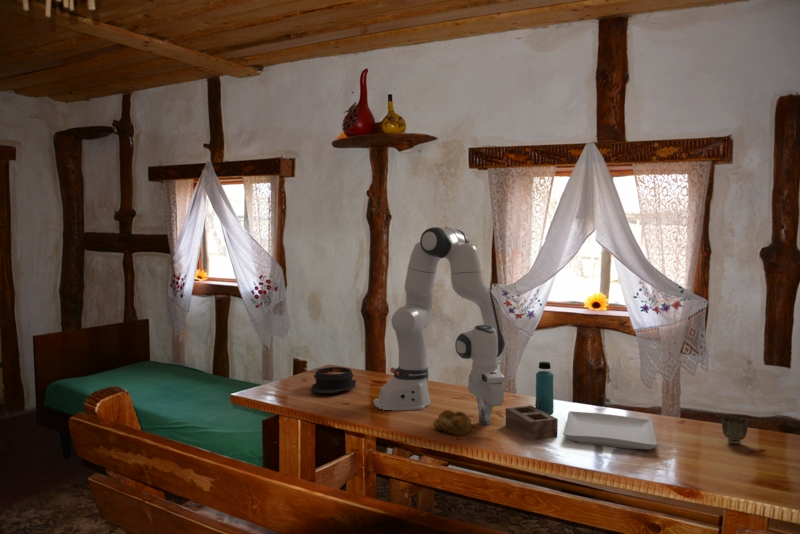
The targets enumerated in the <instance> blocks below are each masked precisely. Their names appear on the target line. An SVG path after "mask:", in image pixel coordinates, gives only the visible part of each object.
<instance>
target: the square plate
mask: <svg viewBox="0 0 800 534" xmlns="http://www.w3.org/2000/svg"><path fill="white" fill-rule="evenodd" d="M563 435H564V436H565V437H566V438H567V439H568V440H569V441H573V442H578V443H583V444H587V445H596V446H605V447H614V448H621V449H632V450H653V449H655V448H656V447H657V446H658V440H657V437H656V434H655V427H654V422H653V420H652V419H648V418H639V417H632V416H631V417H630V416H624V415H617V414H608V413H607V414H606V413H596V412H586V411H585V412H584V411H583V412H582V411H572V410H570V411H568V414H567V420H566V423H565V426H564V430H563Z"/></svg>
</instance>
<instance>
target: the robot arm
mask: <svg viewBox="0 0 800 534" xmlns="http://www.w3.org/2000/svg"><path fill="white" fill-rule="evenodd" d="M443 258H445V259H447V261H448V262H449V265H450V281H451V286H452V289H453V291H454V292H455V293H456V294H457V295H458V296H459V297H461V298H462V299H465V300H469V301H471V302H473V303H474V304H476V305H477V306H478V308H479V309H480V313H481V317H482V322H483V324H477V325H476V326H474V327H473V329H471V330H469V331H466V332H463V333H460V334H459V335H458V336H457V337H456V340H455V343H454V344H455V345H454V346H455V352H456V354H457V355H458V356H459V357H460V358H462V359H465V360H472V364H471V366H472V367H471V371H470V373H469V375H468V384H467V390H468V393H470V394H471V395H473V396H475V398H476V399H475V400H476V403H477V410H479V395H480V396H481V399H482V400H483V401H485V402H486V405H487V408H486V409H485V413H486V414H487V415H490V416H491V415H492V410H493V408H494V407H501V406H503V404H504V401H505V400H504V398H505V386H504V383H505V381H506V380H505V379H506V378H505V375H504V374H503V373H502V372H501V371H500V368H499V362H498V358H499V357H500V356H501V354H502V353H503V351H504V349H505V346H506V345H505V344H506V343H505V339H504V336H503V333H502V331H501V329H500V328H501V327H500V323H499V319H498V315H497V310H496V306H495V301H494V298H493V295H492V294H493V293H492V292H491V289H490V288H489V287H487V286H486V285H485V283H484V279H483V276H482V269H481V268H482V267H481V261H480V260H481V259H480V256H479V253H478V249H477V247H476V246H475V245H474V244H471V243H470V239H469V237H468V235H467V234H466V233H465V232H464V231H461V230H459V229H454V228H450V227H438V226H437V227H429V228H427V229H425V230H424V231H423V232H422V234H421V236H420V240H419V242H417V243H415V244H414V246H413V249H412V252H411V255H410V257H409V261H408V265H407V270H406V277H405V282H404V290H405V305H403V306H400V307H399V308H397V310H396V311H395V312H394V313H393V314H392V316H391V322H390V323H391V326H392V328H393V330H394V331H395V336H396V342H397V346H398V366H397V368H395V367H391V368H390V369H389V370H390V371H389V372H390V373H392V374H393V377H392V378H391V379H390V380H389V381H387V382H386V383H385V384H384V385H382V386H381V387H380V389H379V390H380V391H379V395H378V398H375V399H374V400H373V401H372V402H373V403H374V404H373V403H372V404H373V405H375V406H376V407H375V406H374V407H375V408H377V407H378V408H379V409H378V408H377V409H378V410H380V409H383V410H382V411H384V410H392V411H410V410H411V411H413V410H424V409H425V407H427V406H430V405H431V404H432V400H431V398H430V394H429V387H428V380H429V367H428V365H427V364H428V359H427V358H428V348H427V347H428V346H427V345H426V343H425V339H424V333H423V330H424V329H426V328H427V327H428V326H429V325H430V324H431V322H432V320H433V316H434V315H433V311H432V310H433V292H434V290H433V289H434V285H435V279H436V275H437V270H438V264H439V261H440V260H441V259H443Z"/></svg>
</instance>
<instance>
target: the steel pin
mask: <svg viewBox="0 0 800 534" xmlns="http://www.w3.org/2000/svg"><path fill="white" fill-rule="evenodd" d="M486 408H487V405H486V402H485V401H483V400H482V399H481V396H480V395H479V409H478V425H480V426H491V415H487V414H486V413H485V409H486Z"/></svg>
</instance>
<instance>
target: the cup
mask: <svg viewBox="0 0 800 534" xmlns="http://www.w3.org/2000/svg"><path fill="white" fill-rule="evenodd" d="M720 418H721V419H720V420H721V429H722V433H723V435H724V437H725V438H727V442H728V443H727V444H730V445H732V446H740V445H741V444H742V441H743V440H744V439H745V438H746V437H747V433H748V427H749V420H748V419H747V418H744V417H740V418H739V416H738V415H736V416H735V415H733V416H732V417H731V415H728V416H727V415H723V416H722V415H721V417H720Z"/></svg>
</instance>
